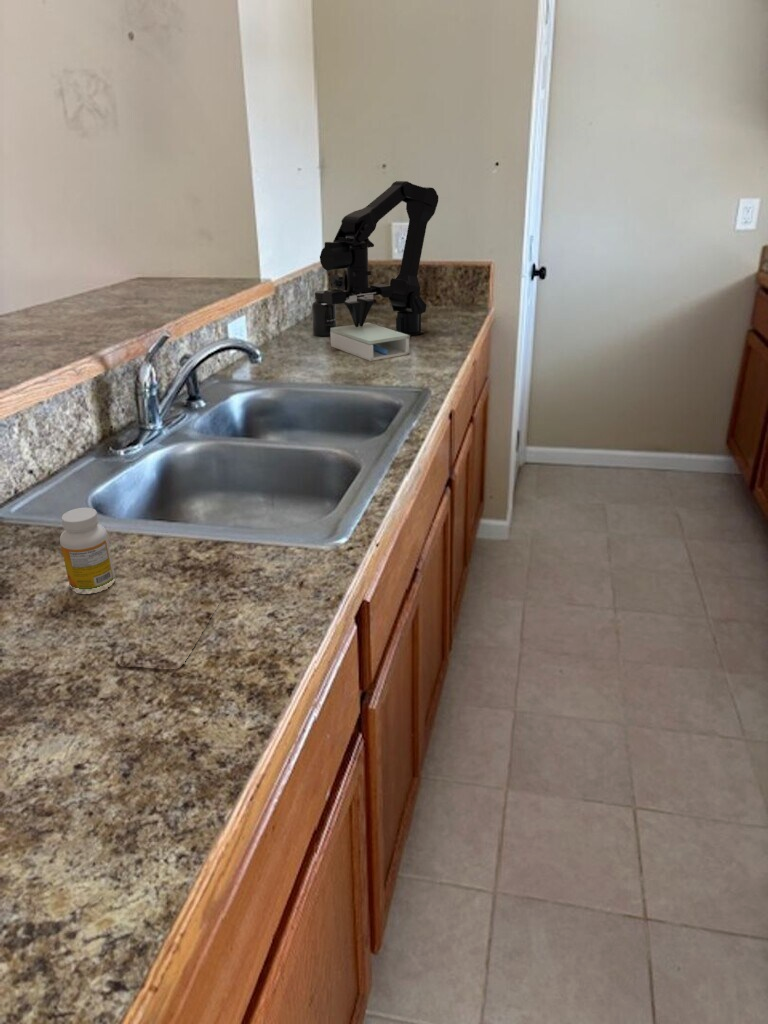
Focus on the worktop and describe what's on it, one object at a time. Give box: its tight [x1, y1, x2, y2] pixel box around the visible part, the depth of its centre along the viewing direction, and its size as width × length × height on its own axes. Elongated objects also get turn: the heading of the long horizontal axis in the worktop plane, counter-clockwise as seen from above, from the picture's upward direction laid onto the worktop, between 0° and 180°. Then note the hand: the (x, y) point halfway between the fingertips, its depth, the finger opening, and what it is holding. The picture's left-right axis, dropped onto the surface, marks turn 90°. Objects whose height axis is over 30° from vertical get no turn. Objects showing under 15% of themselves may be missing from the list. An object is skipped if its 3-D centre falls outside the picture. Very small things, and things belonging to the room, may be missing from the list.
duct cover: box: [331, 322, 411, 344], centre depth 202 cm, size 12×20×1 cm, turn 33°
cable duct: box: [329, 331, 410, 362], centre depth 203 cm, size 12×20×4 cm, turn 33°
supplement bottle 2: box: [311, 290, 337, 337], centre depth 219 cm, size 7×7×12 cm
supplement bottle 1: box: [59, 507, 116, 589], centre depth 93 cm, size 5×5×10 cm
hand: (358, 326), depth 207 cm, fingers closed
